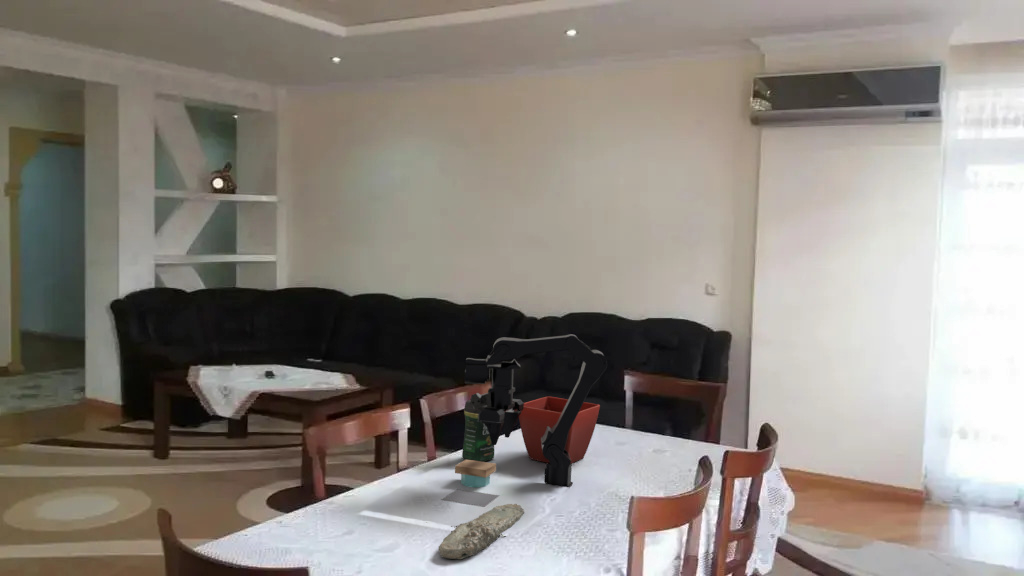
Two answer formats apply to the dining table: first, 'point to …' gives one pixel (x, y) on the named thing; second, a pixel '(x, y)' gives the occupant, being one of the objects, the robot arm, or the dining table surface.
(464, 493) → the mat
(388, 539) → the dining table surface
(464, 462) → the lid
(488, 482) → the bowl
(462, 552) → the long grey stone
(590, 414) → the plant pot
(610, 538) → the dining table surface
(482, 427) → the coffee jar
